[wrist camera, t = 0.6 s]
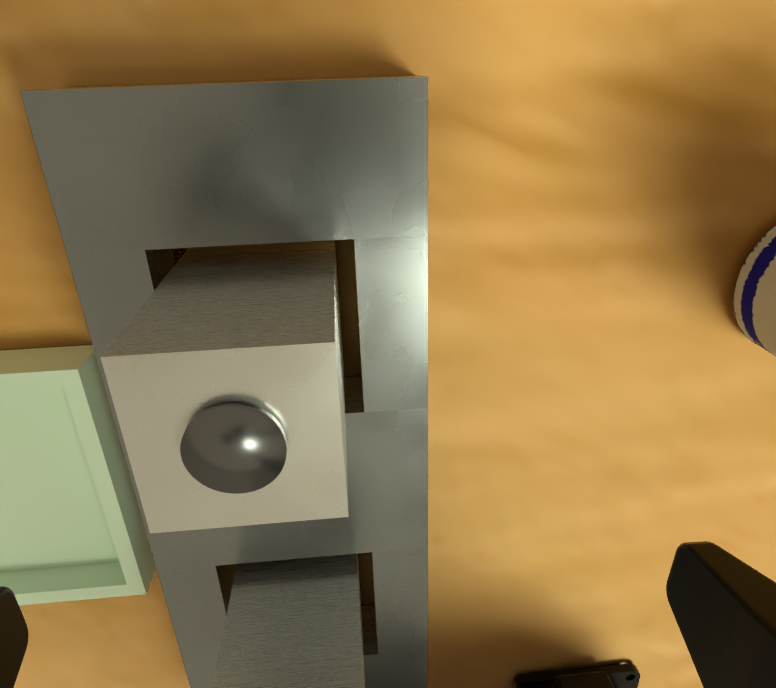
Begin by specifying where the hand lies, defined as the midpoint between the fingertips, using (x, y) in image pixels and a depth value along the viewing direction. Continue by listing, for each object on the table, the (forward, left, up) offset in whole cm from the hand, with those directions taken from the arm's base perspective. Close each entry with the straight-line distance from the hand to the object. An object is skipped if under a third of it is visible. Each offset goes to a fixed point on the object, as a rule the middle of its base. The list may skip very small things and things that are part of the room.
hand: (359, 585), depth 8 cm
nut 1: (-1, +3, -13) cm, 13 cm away
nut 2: (-13, +3, -13) cm, 18 cm away
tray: (-7, +14, -13) cm, 20 cm away
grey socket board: (-7, +3, -13) cm, 15 cm away
